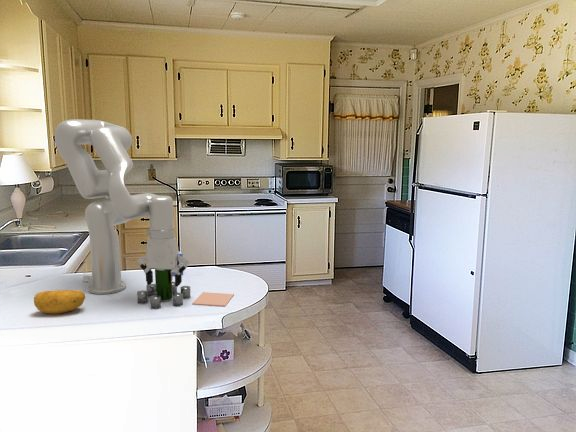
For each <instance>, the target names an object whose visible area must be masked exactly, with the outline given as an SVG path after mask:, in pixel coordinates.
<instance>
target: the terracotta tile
mask: <svg viewBox="0 0 576 432" xmlns="http://www.w3.org/2000/svg"><path fill="white" fill-rule="evenodd" d="M234 296H235V293H225V292H224V293H223V292H222V293H221V292H209V291H207V292H206V291H203V292H201V294H200V295H198V297H197V298H196V299H195V300H194V301H193V302H192V303H191V304H192V305H195V306H209V307H212V306H213V307H227V305H228V304H229V303H230V301H231V300H232V298H233V297H234Z"/></svg>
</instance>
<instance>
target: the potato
mask: <svg viewBox="0 0 576 432" xmlns="http://www.w3.org/2000/svg"><path fill="white" fill-rule="evenodd" d="M85 300H86V295H85V292H84V291H82V290H78V289H70V290H69V289H56V290H43V291H39V292H38V293H36V294H35V295H34V297H33V303H34V306H35V307H36V309H37V311H40V312H42V313H44V314H50V315H51V314H52V315H53V314H62V313H67V312H72V311H74V310H77V309H78V308H79V307H81V306H82V305H83V303H84V302H85Z"/></svg>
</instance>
